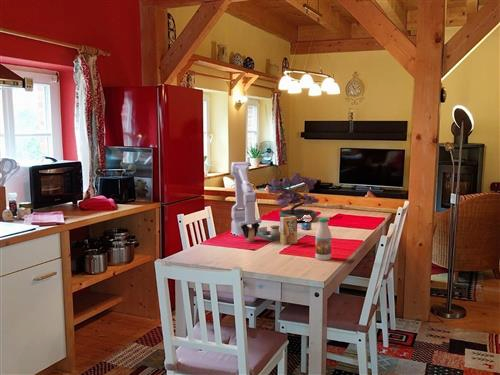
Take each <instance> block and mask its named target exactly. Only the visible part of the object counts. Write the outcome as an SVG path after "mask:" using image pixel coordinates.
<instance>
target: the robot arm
mask: <svg viewBox="0 0 500 375" xmlns="http://www.w3.org/2000/svg"><path fill="white" fill-rule="evenodd" d="M249 170H250V165H249V162H248V161H232V162H231V164H230V174H231V176H232V177H234V178H233V179H234V192H235V204H233V205H232V206H231V213H230V215H231V219H232V221H231V222H230V223H231V224H230V225H231V227H230V228H231V231H230V234H231V233H232V234H231V235H234V234H235V236H237V235H238V236H244V238H245V239H246V238H248V230H249V227H250V225H251V227H253V228H255V238H257V237H256V233H257V230H258V228H260V224H262V219H260V218H259V219H258V218H257V219H256V202H257V193H256V191H255V190H254V189H253V186H252V183H251V182H250V181H249V175H248V173H249ZM238 236H237V237H238Z"/></svg>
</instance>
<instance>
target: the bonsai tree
mask: <svg viewBox="0 0 500 375" xmlns="http://www.w3.org/2000/svg"><path fill="white" fill-rule="evenodd" d="M317 181H318V180H317V179H315V178H314V179H313V178H312V177H309V176H308V177H306V176H301V174H300V173H298V172H296V173H293V175H292V176H291V177H290V178H288V177H284V178H283V180H282V181H281V180H279V179H277V178H272V180H271V181H268V182H267V183H268V185H270V186H273V187H274V188H268V189H267V193H268V194H270V195H271V194H273V195H278V196H274V198H273V199H274V201H276V202H277V203H278V207H280V208H282V207H283V208H285V207H287V206H288V204H289V205H293V206H292V207H291V208H289V209H288V208H287V209H284V210H279V211H278V215H279V217H280V218H281V217H290V216H295V217H297V219H301V218H302V217H303V216H304V215H306V214H308V215H310V216H311V217H312V220H311V221H313V219H315V218H316V217H317V214H318V212H316V211H315V210H314V209H304V208H299V207H301V206H304V205H309V204H310V205H311V204H315V203H316V204H317V203H319V202H320V200H319V198H316V197H315V196H314V195H313V196H312V195H311V196H310V195H308V193H303V194H301V193H299V192H297V191H295V190H294V189H292V187H291V186H292V185H294V184H295V185H299V184H300V183H304V184H302V185H301V187H300V191H303V190H304V189H307V190H308V191H312V190H313V189H315V186H314V185H315V184H317V183H318V182H317ZM287 185H288V188H286V187H284V186H287Z"/></svg>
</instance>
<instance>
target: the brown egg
mask: <svg viewBox="0 0 500 375" xmlns="http://www.w3.org/2000/svg"><path fill="white" fill-rule="evenodd" d="M270 232H271V237H272V235H277V234H280V225H271V226H270Z"/></svg>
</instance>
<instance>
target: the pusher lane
mask: <svg viewBox="0 0 500 375" xmlns="http://www.w3.org/2000/svg"><path fill="white" fill-rule="evenodd" d="M255 238H258V239H261V240H264V241H268V242H277V241H280V233H279V234H277V235H272V237H271V231H269V230H267V234H265V235H262V234H258V230H257V233H256V237H255Z"/></svg>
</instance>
